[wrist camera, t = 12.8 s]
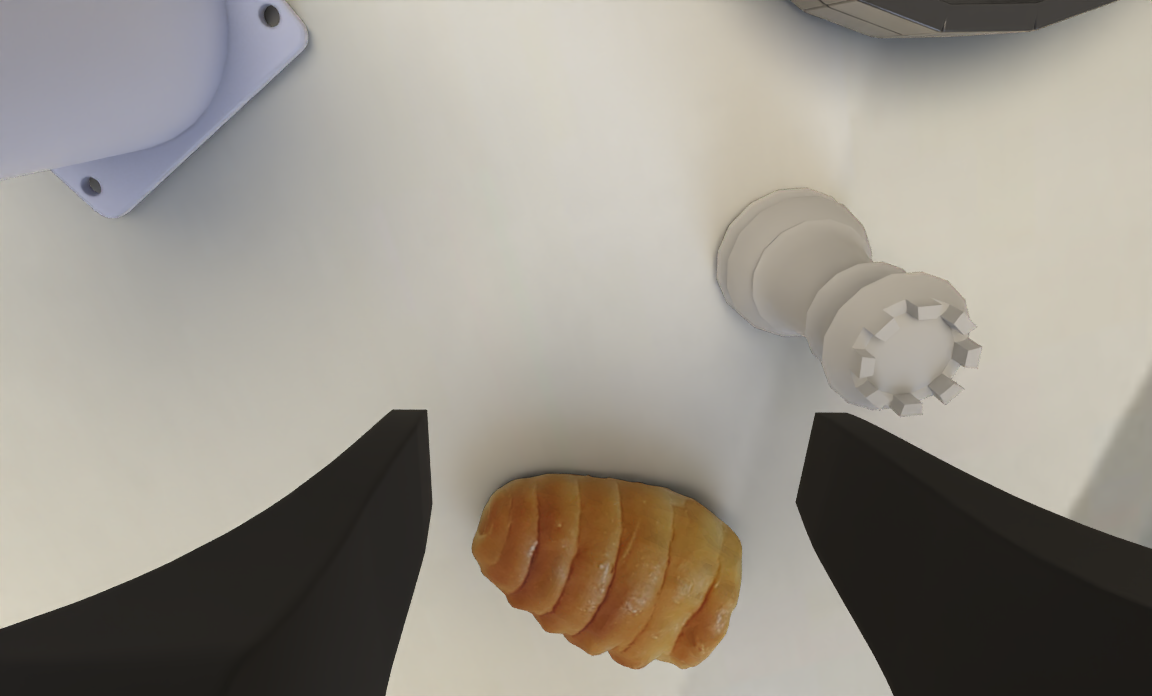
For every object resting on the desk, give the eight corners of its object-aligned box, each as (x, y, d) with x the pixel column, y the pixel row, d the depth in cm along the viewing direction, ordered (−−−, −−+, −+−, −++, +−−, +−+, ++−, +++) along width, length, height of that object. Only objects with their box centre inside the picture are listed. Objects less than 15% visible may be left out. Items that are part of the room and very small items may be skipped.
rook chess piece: (809, 153, 19) (979, 208, 12) (875, 267, 21) (1061, 377, 13) (685, 244, 20) (772, 347, 13) (757, 346, 22) (871, 490, 14)
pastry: (451, 567, 25) (438, 649, 21) (516, 424, 22) (513, 490, 19) (667, 629, 27) (688, 713, 23) (747, 503, 24) (784, 576, 21)
